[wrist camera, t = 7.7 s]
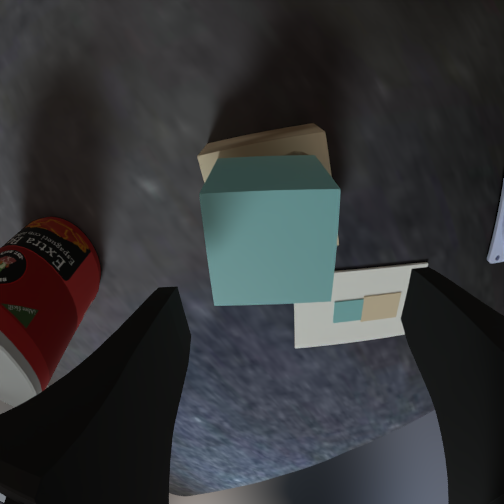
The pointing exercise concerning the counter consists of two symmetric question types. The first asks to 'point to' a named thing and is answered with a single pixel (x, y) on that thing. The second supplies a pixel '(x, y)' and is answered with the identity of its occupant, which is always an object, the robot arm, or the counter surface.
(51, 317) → the canned food
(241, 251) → the teal brick
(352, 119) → the counter surface
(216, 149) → the oak base brick
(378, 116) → the counter surface
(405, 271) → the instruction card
